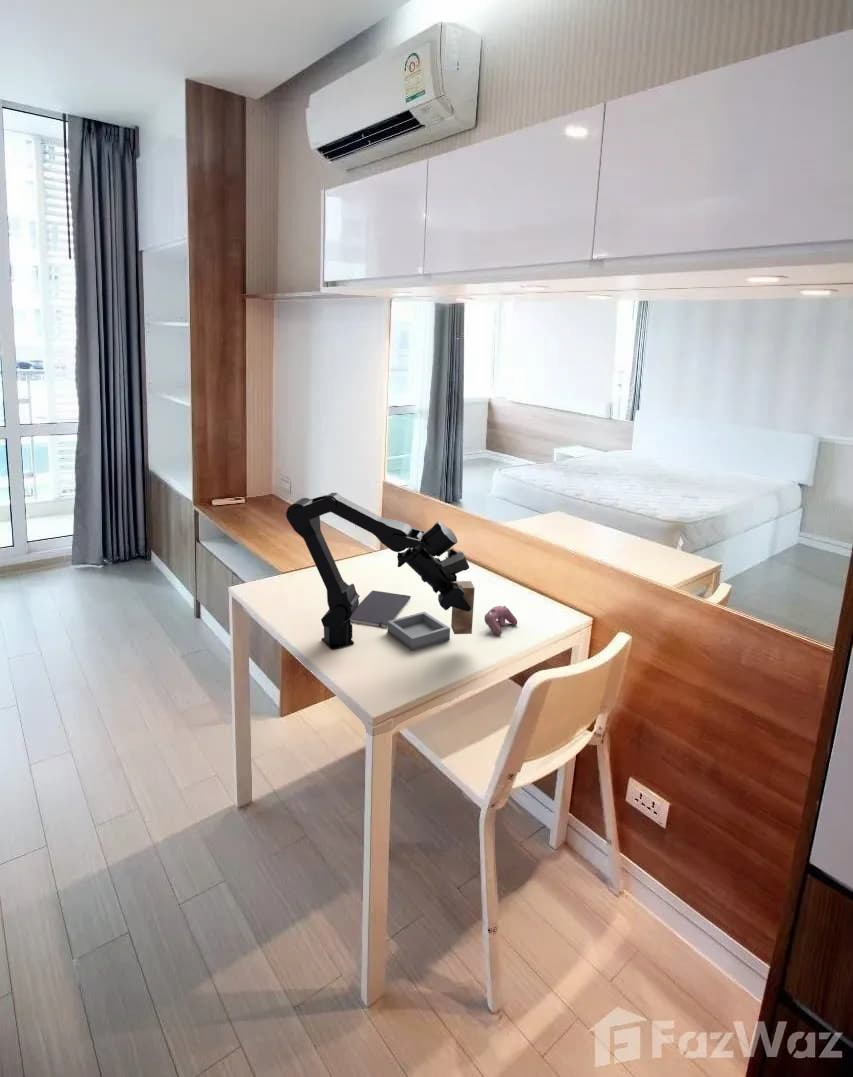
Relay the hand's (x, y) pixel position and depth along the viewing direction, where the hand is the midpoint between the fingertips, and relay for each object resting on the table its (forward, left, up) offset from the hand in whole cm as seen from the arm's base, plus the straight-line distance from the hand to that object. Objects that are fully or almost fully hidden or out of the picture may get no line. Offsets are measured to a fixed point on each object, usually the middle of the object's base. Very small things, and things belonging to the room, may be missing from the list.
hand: (468, 606), depth 164 cm
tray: (-6, +13, -12) cm, 19 cm away
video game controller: (+16, +5, -13) cm, 21 cm away
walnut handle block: (-1, +1, -7) cm, 7 cm away
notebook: (-6, +33, -13) cm, 36 cm away
